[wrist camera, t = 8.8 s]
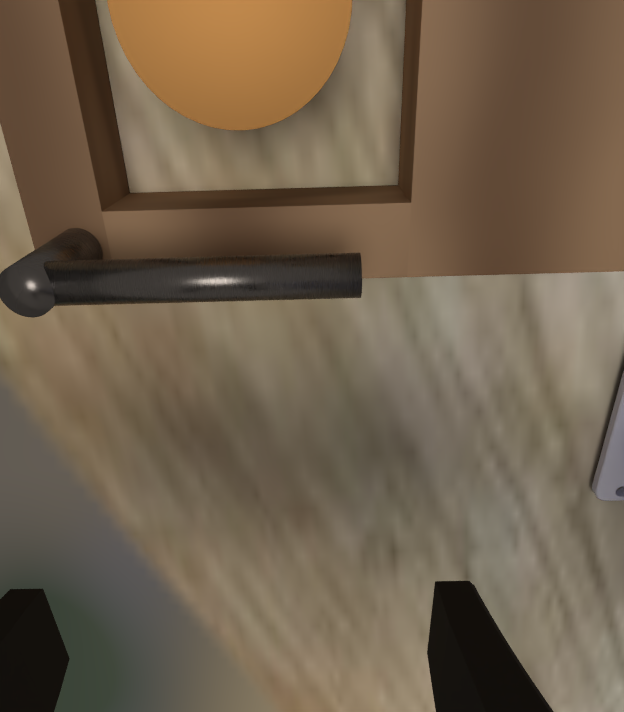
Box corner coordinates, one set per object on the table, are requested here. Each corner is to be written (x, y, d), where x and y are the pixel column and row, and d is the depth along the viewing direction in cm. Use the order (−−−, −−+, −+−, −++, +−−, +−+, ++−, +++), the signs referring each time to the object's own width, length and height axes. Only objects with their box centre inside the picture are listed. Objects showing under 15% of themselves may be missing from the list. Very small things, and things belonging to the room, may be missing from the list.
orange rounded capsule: (347, -78, 13) (368, -150, 9) (329, 118, 15) (338, 140, 11) (164, -98, 13) (92, -181, 9) (171, 103, 15) (116, 119, 11)
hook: (347, 200, 16) (361, 256, 11) (347, 239, 17) (361, 308, 12) (85, 207, 16) (-11, 265, 12) (94, 246, 17) (5, 317, 12)
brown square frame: (708, -318, 11) (799, -407, 9) (588, 245, 17) (627, 271, 15) (-51, -286, 12) (-133, -365, 9) (78, 259, 17) (45, 286, 15)
